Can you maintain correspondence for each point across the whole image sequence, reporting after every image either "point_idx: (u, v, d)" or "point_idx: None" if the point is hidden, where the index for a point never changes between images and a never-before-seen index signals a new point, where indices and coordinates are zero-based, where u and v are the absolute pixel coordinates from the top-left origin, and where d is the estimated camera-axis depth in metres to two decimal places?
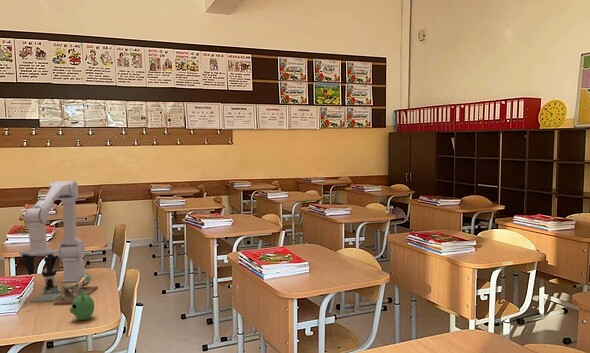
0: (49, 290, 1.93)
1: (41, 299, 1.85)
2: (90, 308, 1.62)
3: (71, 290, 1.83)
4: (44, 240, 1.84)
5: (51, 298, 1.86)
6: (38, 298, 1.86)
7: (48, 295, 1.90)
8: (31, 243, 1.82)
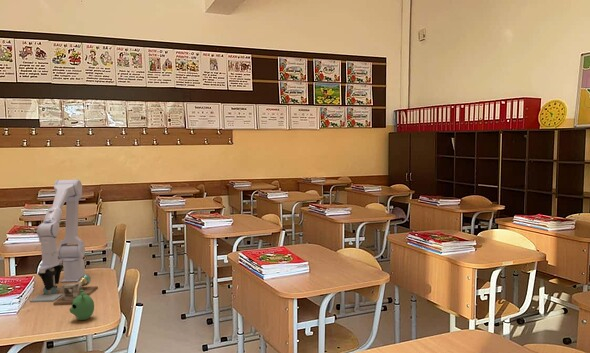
0: (49, 290, 1.93)
1: (41, 299, 1.85)
2: (90, 308, 1.62)
3: (71, 290, 1.83)
4: (45, 255, 1.90)
5: (51, 298, 1.86)
6: (38, 298, 1.86)
7: (48, 295, 1.90)
8: None
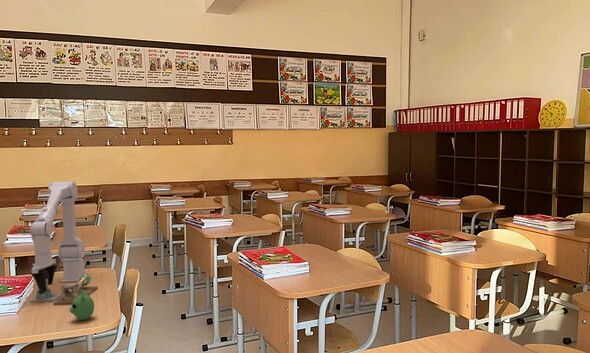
0: (42, 294, 1.86)
1: (41, 299, 1.85)
2: (90, 308, 1.62)
3: (71, 290, 1.83)
4: (38, 254, 1.83)
5: (51, 298, 1.86)
6: None
7: None
8: None
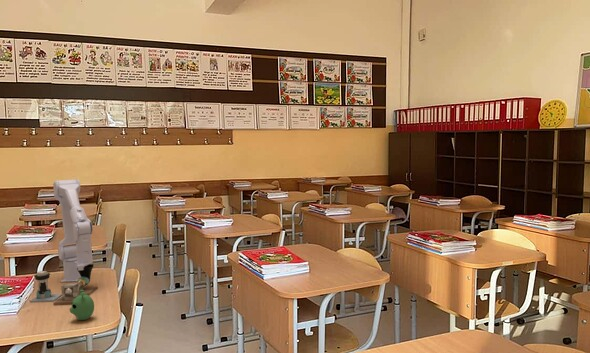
0: (42, 294, 1.86)
1: (41, 299, 1.85)
2: (90, 308, 1.62)
3: (69, 291, 1.82)
4: (81, 253, 1.94)
5: (51, 298, 1.86)
6: None
7: None
8: None
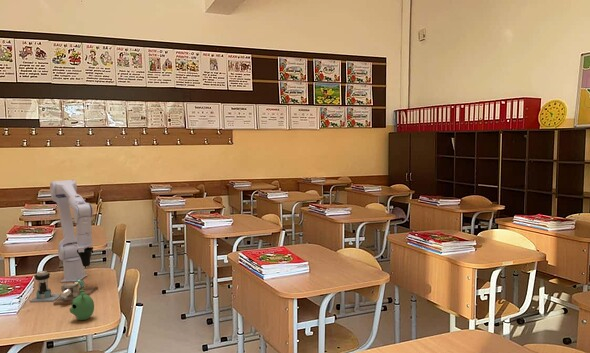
0: (42, 294, 1.86)
1: (41, 299, 1.85)
2: (90, 308, 1.62)
3: (64, 295, 1.77)
4: (81, 235, 1.95)
5: (51, 298, 1.86)
6: None
7: None
8: None
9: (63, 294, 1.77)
